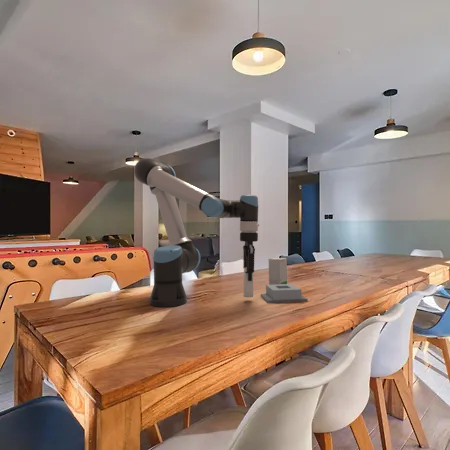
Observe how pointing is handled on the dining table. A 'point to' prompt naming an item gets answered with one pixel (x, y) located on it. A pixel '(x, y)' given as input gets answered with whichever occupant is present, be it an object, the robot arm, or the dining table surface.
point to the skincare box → (277, 271)
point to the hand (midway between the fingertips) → (248, 287)
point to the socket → (283, 294)
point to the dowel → (246, 291)
